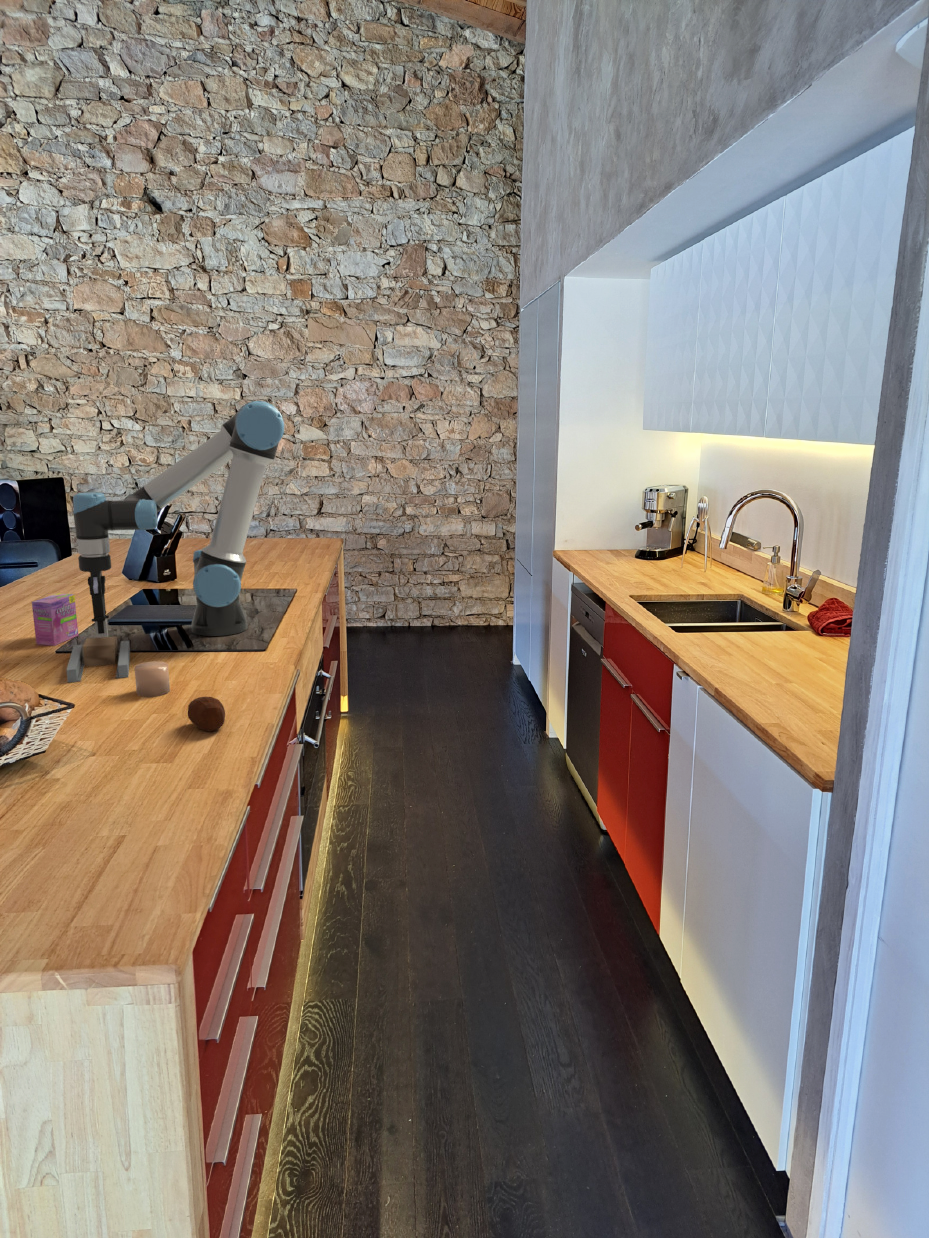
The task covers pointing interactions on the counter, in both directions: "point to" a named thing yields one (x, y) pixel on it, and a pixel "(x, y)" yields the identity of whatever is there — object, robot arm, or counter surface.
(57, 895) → the counter surface
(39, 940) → the counter surface
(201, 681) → the counter surface
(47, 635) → the box
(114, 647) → the block
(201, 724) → the potato
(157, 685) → the marshmallow
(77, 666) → the chute
